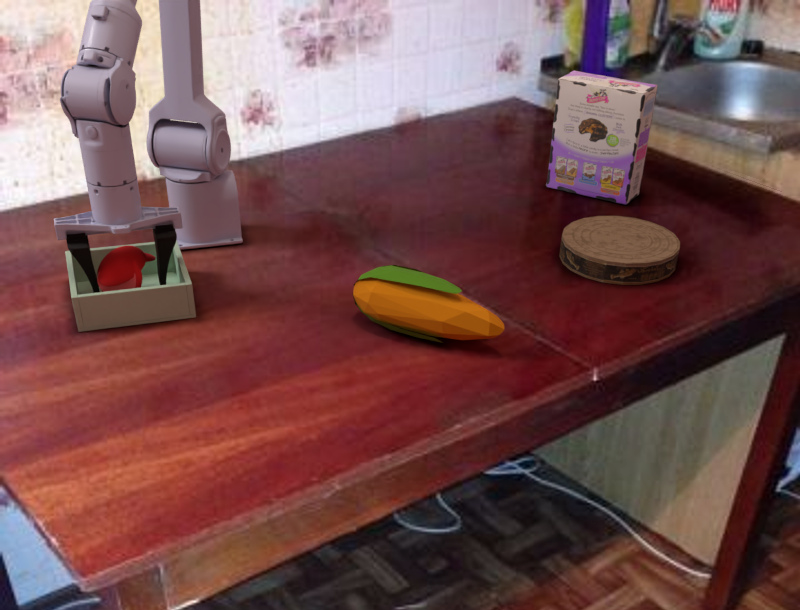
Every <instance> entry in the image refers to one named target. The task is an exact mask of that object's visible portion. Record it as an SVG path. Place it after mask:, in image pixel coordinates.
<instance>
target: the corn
mask: <svg viewBox="0 0 800 610" xmlns="http://www.w3.org/2000/svg"><path fill="white" fill-rule="evenodd" d="M461 292H463V289H462V288H460V287H458V286H457V285H456V284H453V283H452V282H450V281H448V280H446V279H444V278H441V277H438V276H435V275H432V274H429V273H426V272H423V271H421V270H419V269H417V268H413V267H408V266H404V265H403V266H402V265H397V264H391V265H390V264H389V265H381V266H378V267H375V268H373V269H370V270H369V271H366V272H364V273H362V274H361V275H360V276H359V277H358V279H357V280H356V281H355V282H354V284H353V292H352V297H353V301H354V305H355V306H356V307H357V308H358V309H359V311H360V312H361V313H362V314H363V315H364V316H365V317H367V318H368V319H369V320H370V321H371V322H373V323H375V324H378V325H380V326H382V327H384V328H387V329H388V330H390V331H392V332H393V331H394V332H397V333H400V334H404V335H408V336H410V337H415V338H418V339H423V340H427V341H431V342H436V343H442V344H444V342H443V341H441V340H440V339H438V338H445V339H451V340H459V341H473V340H489V339H495V338H497V337H499V336H500V335H502V334H503V333H504V331H505V323H504V322H503V321H502V320H501V319H500V317H499V316H498V315H496V314H495V313H493V312H492V311H490V310H489V309H487V308H485V307H484V306H482V305H480V304H479V303H477V302H475V301H473V300H471V299H470V298H468V297H467V296H465V295H463V294H460V293H461Z"/></svg>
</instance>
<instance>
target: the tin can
mask: <svg viewBox="0 0 800 610" xmlns="http://www.w3.org/2000/svg"><path fill="white" fill-rule="evenodd" d="M560 239H561V240H560V246H559V255H558V257H559V258H560V261H561V263H562V265H564V266H565V267H566V268H567V269H568V270H570V271H571V272H573V273H575V274H577V275H579V276H581V277H583V278H585V279H589V280H592V281H596V282H600V283H603V284H613V285H619V286H632V285H633V286H641V285H647V284H652V283H657V282H660V281H662V280H665V279H667V278H669V277H670V276H672V274H673V273H674V272H675V271H676V268H677V262H678V258H679V253H680V250H681V249H680V248H681V241H680V240H679V238H678V236H677V235H676V234H675V233H674V232H672V231H671V230H669V229H668V228H666V227H665V226H662V225H659V224H657V223H654V222H652V221H649V220H645V219H641V218H637V217H632V216H631V217H630V216H622V215H596V216H589V217H588V216H587V217H583V218H580V219H577V220H573V221H572V222H570V223H568V224H567V225H566V226H565V227H564V228H563V230H562V233H561V238H560Z"/></svg>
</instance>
